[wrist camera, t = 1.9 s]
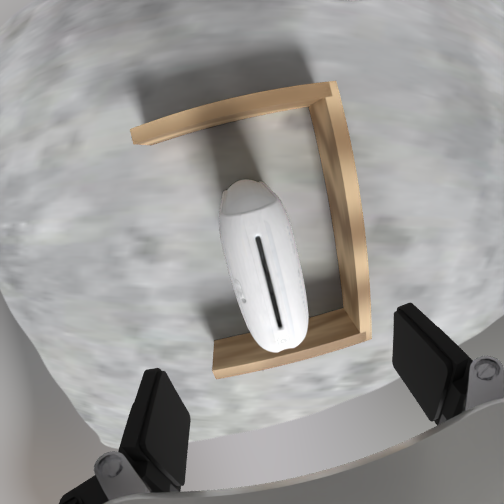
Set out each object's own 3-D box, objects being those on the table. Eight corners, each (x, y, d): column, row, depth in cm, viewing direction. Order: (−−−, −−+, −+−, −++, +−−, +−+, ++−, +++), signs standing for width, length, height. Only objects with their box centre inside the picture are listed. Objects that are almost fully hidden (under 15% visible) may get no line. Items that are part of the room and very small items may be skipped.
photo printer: (288, 277, 29) (323, 356, 17) (246, 288, 29) (256, 373, 17) (264, 173, 25) (292, 191, 14) (217, 185, 26) (205, 213, 14)
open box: (148, 133, 23) (129, 129, 19) (317, 92, 23) (336, 80, 18) (217, 348, 31) (216, 379, 26) (354, 313, 31) (371, 338, 26)
